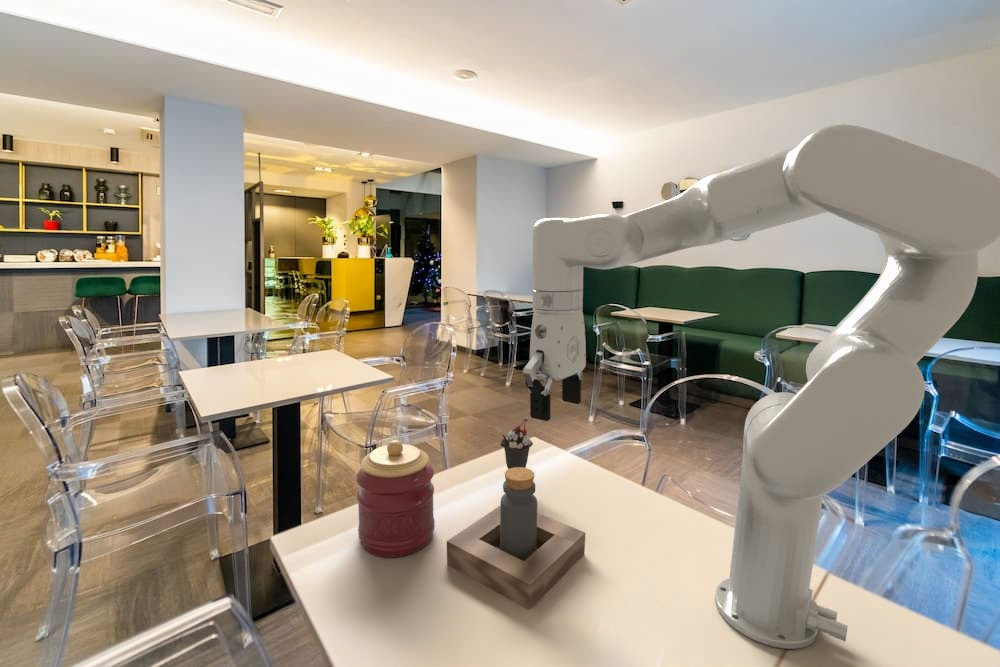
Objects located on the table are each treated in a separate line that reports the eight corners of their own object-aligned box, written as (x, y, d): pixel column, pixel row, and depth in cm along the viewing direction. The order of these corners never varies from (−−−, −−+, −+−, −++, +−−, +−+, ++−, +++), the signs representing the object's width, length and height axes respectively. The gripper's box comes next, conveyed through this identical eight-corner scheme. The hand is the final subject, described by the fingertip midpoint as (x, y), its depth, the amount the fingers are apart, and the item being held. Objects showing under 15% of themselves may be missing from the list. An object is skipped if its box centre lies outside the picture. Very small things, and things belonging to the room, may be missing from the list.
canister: (352, 526, 88) (347, 433, 85) (421, 509, 94) (419, 422, 91) (367, 568, 77) (363, 463, 74) (445, 546, 83) (444, 448, 80)
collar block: (584, 554, 81) (585, 532, 80) (529, 610, 69) (530, 584, 68) (507, 520, 91) (507, 500, 90) (446, 563, 78) (446, 541, 78)
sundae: (537, 485, 104) (539, 418, 101) (521, 499, 98) (523, 428, 96) (510, 477, 107) (512, 412, 105) (494, 490, 102) (495, 421, 99)
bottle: (536, 549, 82) (538, 466, 79) (535, 572, 76) (537, 483, 74) (501, 547, 83) (502, 464, 80) (498, 569, 77) (499, 481, 74)
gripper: (549, 309, 65) (549, 431, 68) (604, 298, 79) (602, 400, 82) (504, 306, 69) (505, 421, 72) (563, 296, 83) (562, 393, 86)
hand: (556, 410), depth 77 cm, fingers open, 9 cm apart
